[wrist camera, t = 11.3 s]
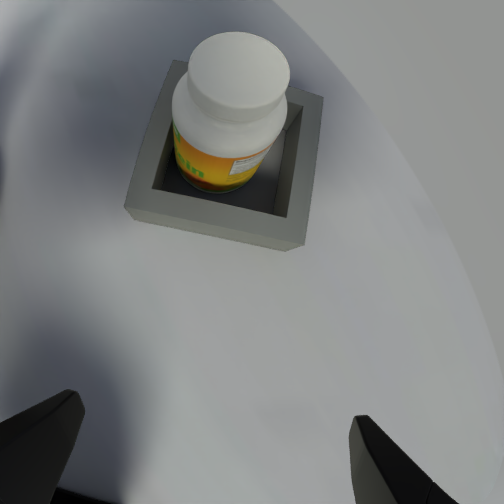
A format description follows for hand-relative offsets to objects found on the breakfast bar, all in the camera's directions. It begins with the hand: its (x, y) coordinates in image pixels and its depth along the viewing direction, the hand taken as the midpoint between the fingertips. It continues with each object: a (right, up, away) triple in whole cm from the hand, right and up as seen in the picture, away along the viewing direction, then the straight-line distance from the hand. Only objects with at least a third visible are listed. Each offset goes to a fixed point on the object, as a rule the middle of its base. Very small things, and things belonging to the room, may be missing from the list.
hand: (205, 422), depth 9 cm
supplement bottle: (-1, +11, +12) cm, 16 cm away
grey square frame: (0, +11, +12) cm, 16 cm away
